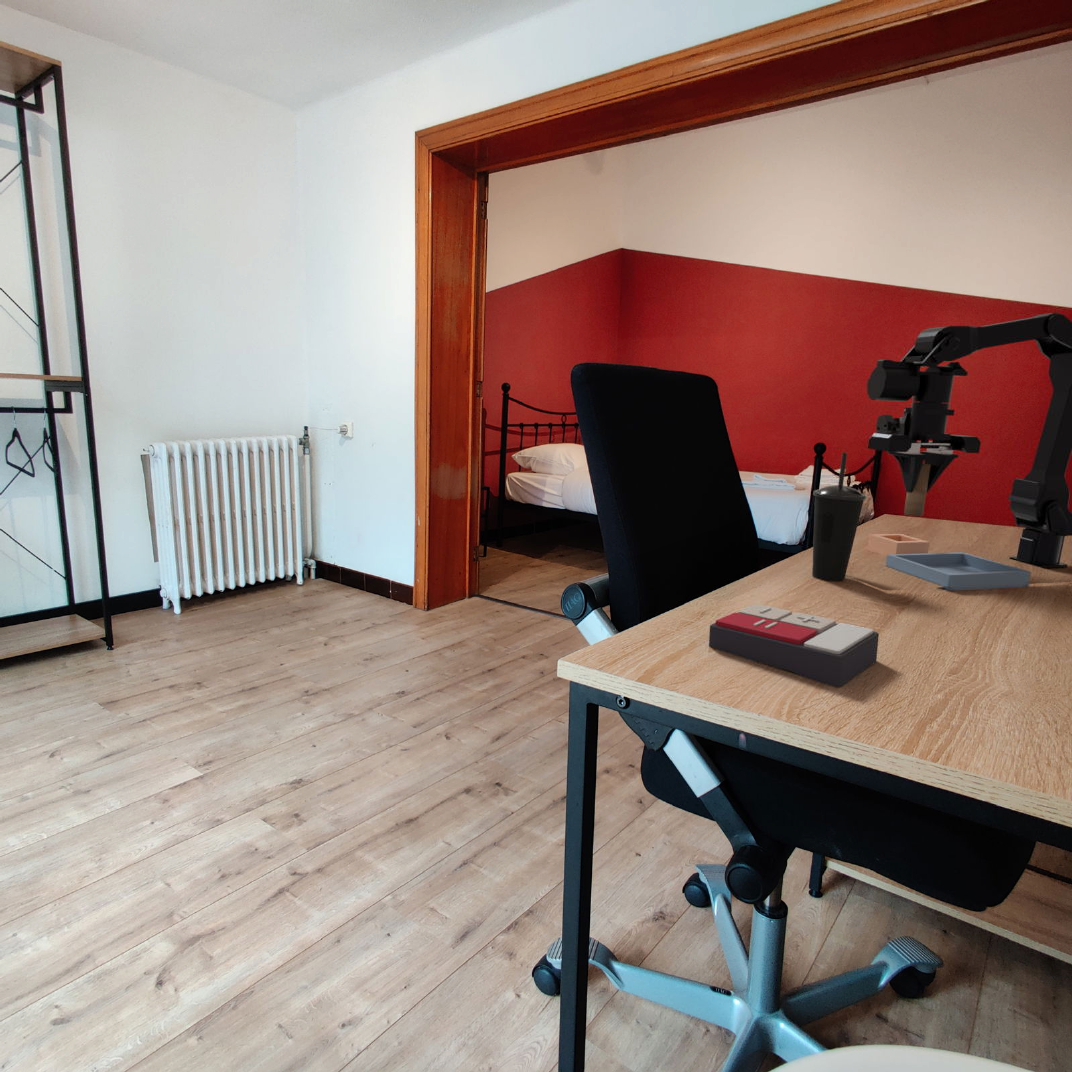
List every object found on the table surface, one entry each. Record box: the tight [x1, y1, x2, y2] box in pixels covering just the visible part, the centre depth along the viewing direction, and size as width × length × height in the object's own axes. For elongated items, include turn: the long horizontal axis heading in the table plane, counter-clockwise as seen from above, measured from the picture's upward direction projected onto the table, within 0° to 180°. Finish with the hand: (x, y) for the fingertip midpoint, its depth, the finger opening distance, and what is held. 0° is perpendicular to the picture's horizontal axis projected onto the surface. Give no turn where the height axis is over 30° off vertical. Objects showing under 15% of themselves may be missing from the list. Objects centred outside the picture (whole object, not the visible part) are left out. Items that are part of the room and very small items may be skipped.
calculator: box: [708, 603, 880, 689], centre depth 79 cm, size 11×4×15 cm
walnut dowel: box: [903, 463, 931, 517], centre depth 124 cm, size 3×3×9 cm
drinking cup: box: [811, 452, 867, 582], centre depth 111 cm, size 8×8×20 cm
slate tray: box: [885, 551, 1032, 592], centre depth 116 cm, size 16×13×2 cm
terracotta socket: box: [866, 533, 930, 558], centre depth 129 cm, size 7×7×4 cm
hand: (916, 492), depth 124 cm, fingers closed on walnut dowel, 3 cm apart
